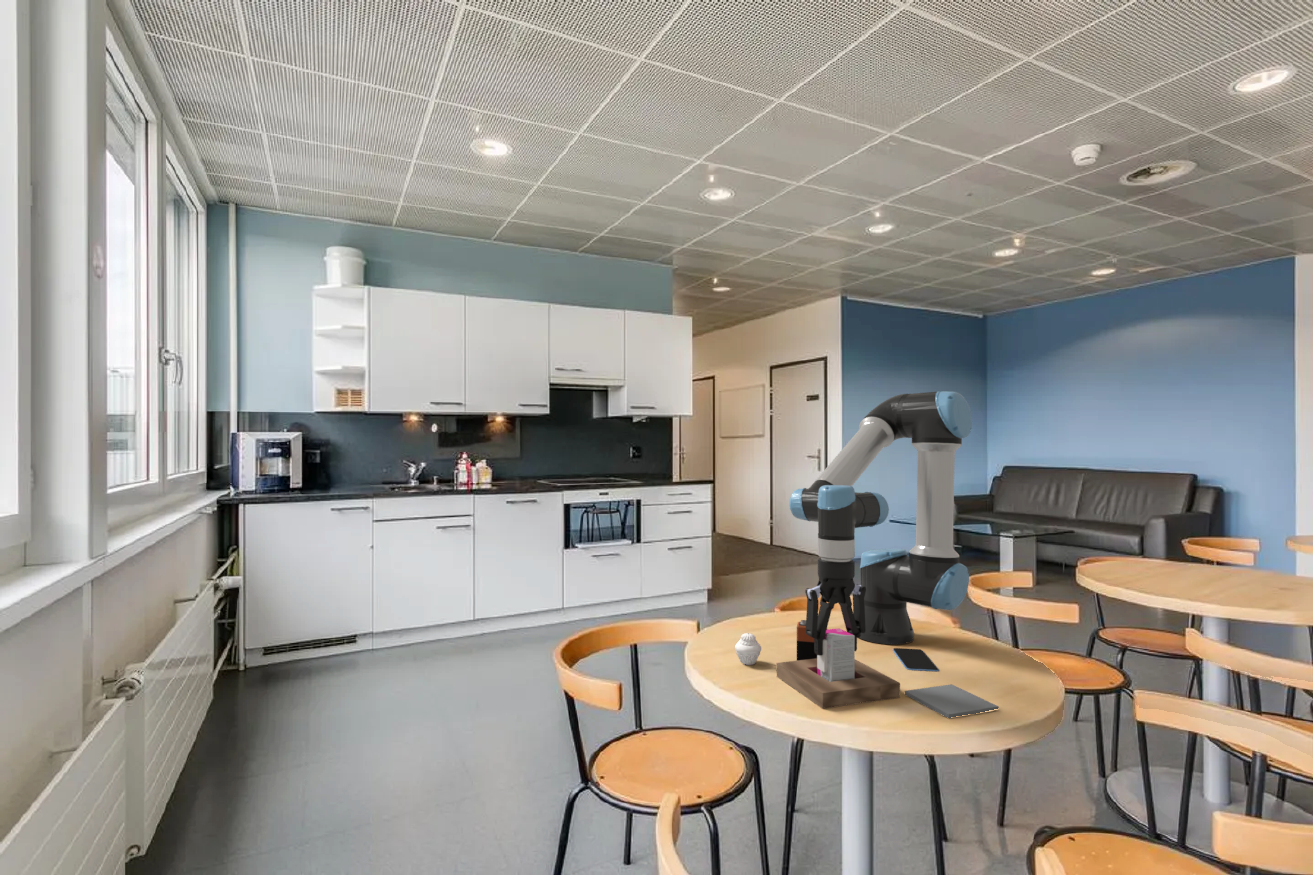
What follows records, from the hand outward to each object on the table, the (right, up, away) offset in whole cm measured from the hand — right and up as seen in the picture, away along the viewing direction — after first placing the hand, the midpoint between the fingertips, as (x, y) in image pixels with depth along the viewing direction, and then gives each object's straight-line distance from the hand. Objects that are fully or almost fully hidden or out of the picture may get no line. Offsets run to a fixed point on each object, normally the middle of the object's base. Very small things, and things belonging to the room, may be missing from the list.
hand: (835, 668), depth 135 cm
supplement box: (0, -4, 0) cm, 4 cm away
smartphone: (+24, -5, +17) cm, 30 cm away
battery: (-2, -4, +14) cm, 15 cm away
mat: (+21, -4, -8) cm, 22 cm away
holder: (0, -4, 0) cm, 4 cm away
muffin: (-16, -4, +15) cm, 22 cm away
